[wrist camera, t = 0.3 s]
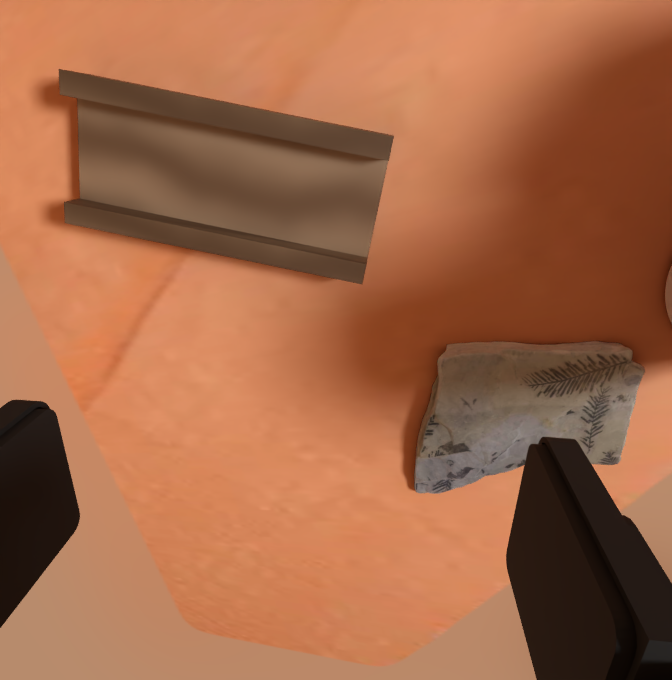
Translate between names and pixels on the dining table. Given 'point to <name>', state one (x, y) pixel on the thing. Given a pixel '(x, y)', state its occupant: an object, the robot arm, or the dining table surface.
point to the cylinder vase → (669, 294)
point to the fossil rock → (522, 407)
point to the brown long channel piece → (225, 177)
